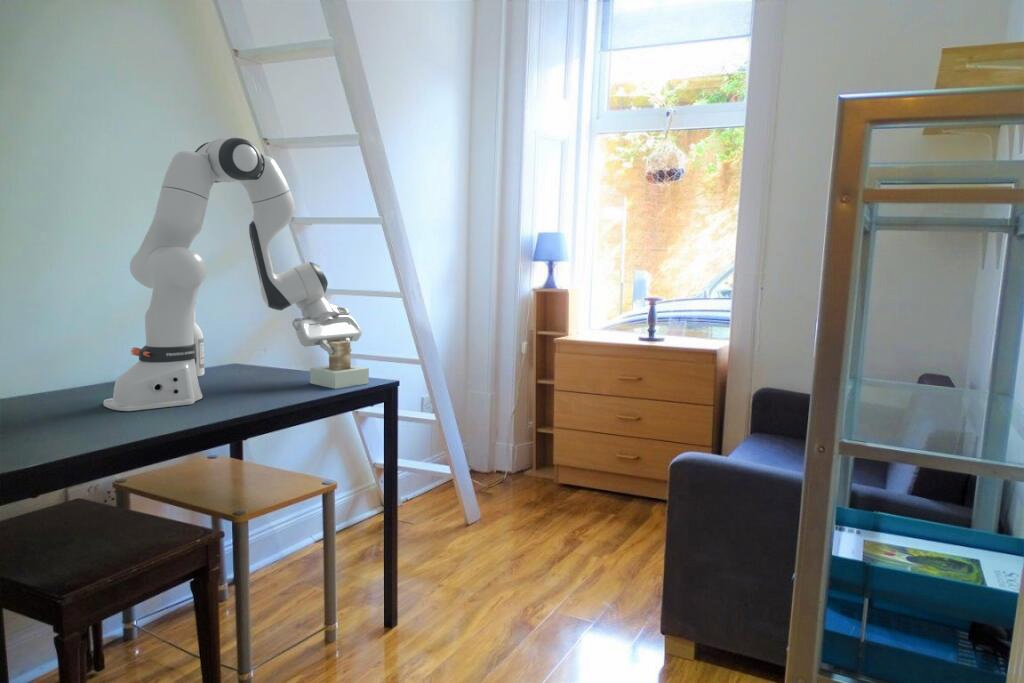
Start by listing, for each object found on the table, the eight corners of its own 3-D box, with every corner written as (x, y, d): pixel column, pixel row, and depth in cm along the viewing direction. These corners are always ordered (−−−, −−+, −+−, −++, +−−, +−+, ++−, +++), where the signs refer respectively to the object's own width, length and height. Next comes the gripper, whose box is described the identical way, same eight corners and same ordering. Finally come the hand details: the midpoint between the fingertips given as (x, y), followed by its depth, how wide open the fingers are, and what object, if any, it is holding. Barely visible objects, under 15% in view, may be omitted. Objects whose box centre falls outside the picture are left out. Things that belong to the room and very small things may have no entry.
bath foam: (199, 373, 221) (197, 309, 218) (207, 376, 216) (205, 311, 213) (176, 375, 216) (173, 310, 214) (184, 378, 211) (181, 311, 209)
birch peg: (338, 370, 205) (337, 343, 204) (329, 368, 208) (328, 342, 207) (350, 368, 209) (350, 342, 208) (341, 367, 211) (341, 340, 210)
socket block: (335, 388, 200) (335, 373, 200) (310, 383, 208) (310, 368, 207) (368, 383, 209) (368, 368, 209) (343, 378, 217) (343, 363, 216)
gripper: (294, 312, 202) (315, 349, 198) (352, 308, 218) (372, 342, 213) (285, 326, 206) (306, 363, 201) (343, 321, 222) (363, 355, 217)
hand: (341, 352), depth 207 cm, fingers closed on birch peg, 4 cm apart
